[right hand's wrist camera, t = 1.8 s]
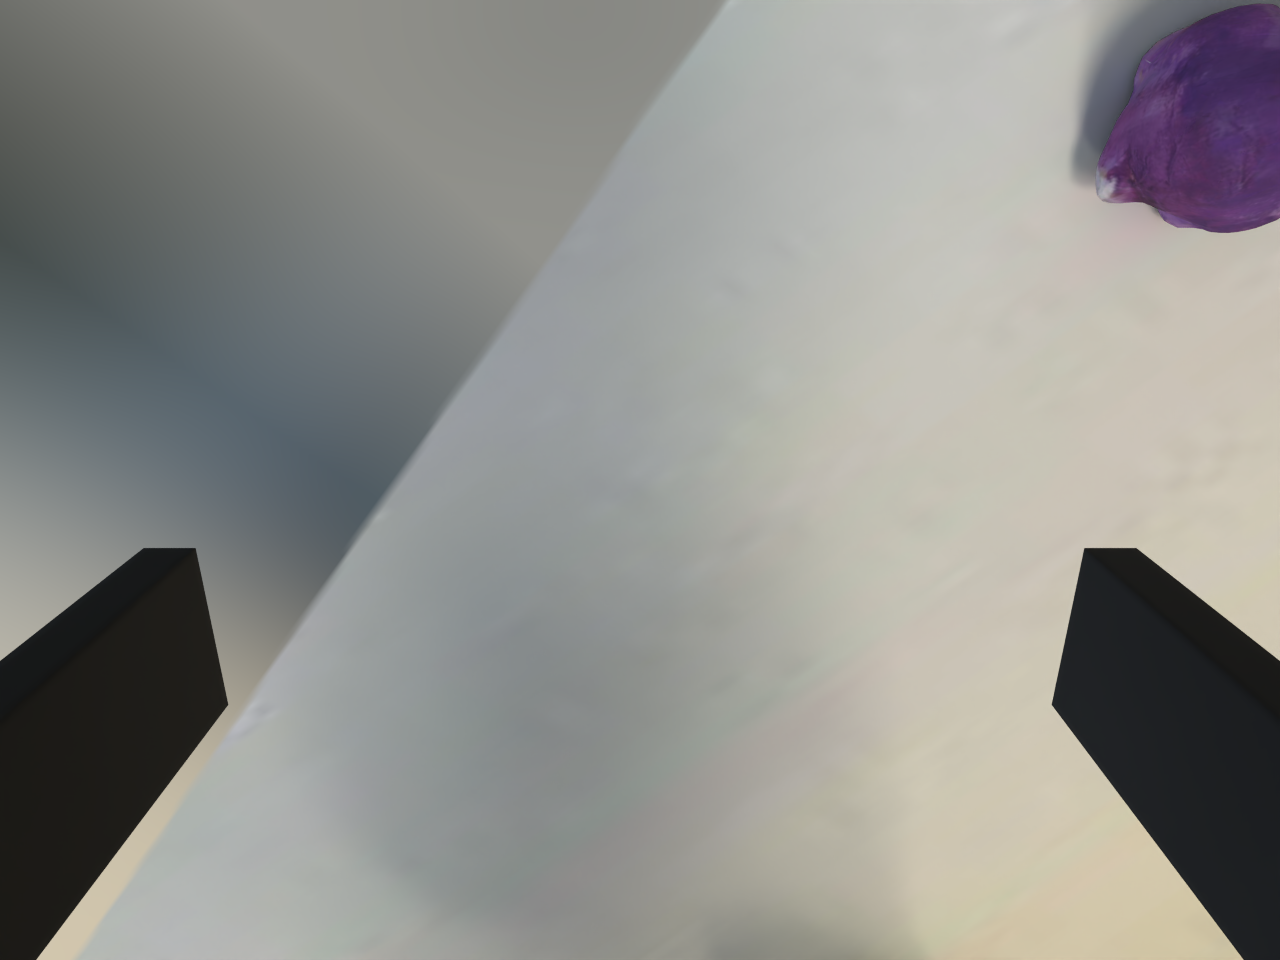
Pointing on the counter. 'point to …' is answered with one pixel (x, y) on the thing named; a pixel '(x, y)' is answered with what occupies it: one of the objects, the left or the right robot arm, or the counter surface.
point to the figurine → (1203, 125)
